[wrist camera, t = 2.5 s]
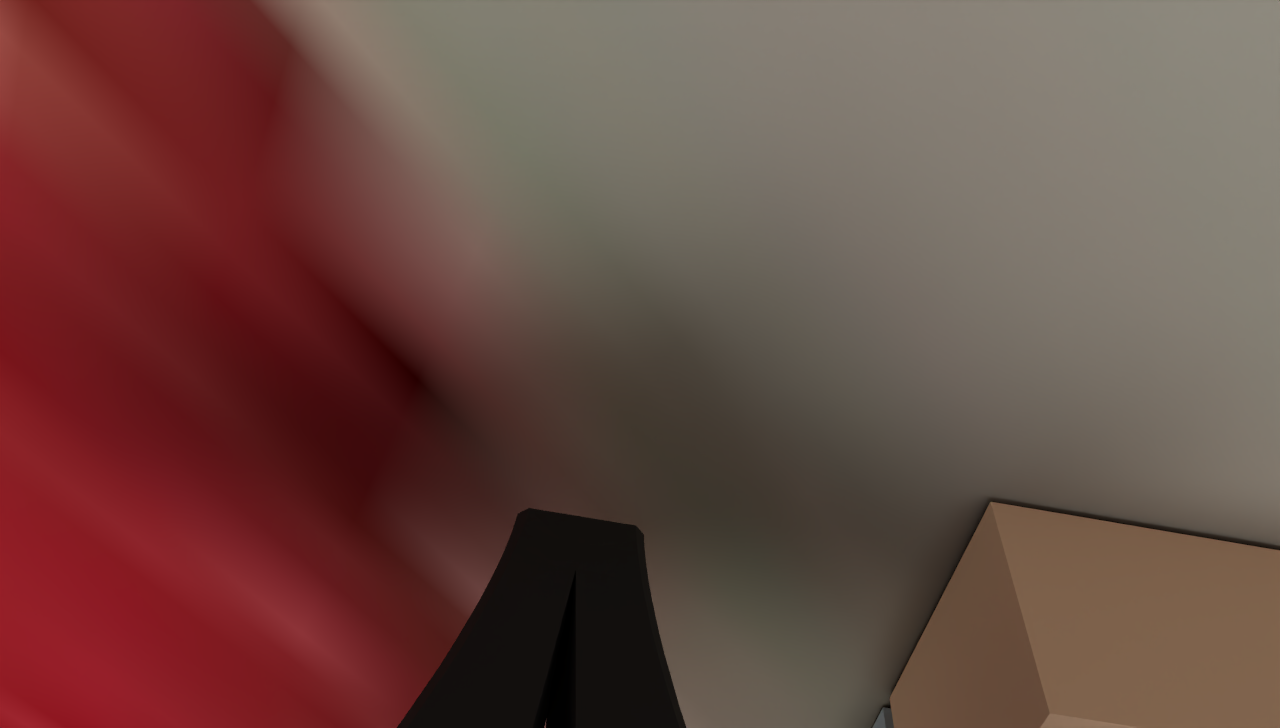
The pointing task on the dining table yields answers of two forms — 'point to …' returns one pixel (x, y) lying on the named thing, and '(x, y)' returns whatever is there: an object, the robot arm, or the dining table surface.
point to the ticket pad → (884, 719)
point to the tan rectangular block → (1097, 630)
